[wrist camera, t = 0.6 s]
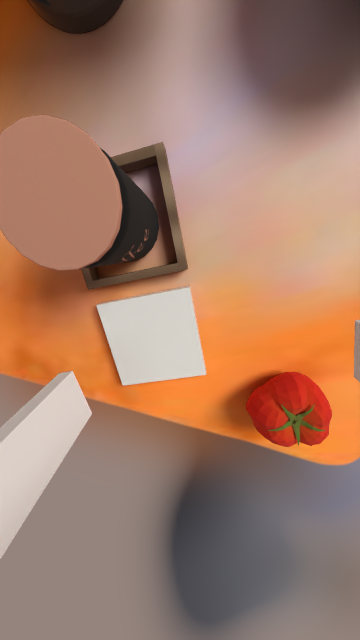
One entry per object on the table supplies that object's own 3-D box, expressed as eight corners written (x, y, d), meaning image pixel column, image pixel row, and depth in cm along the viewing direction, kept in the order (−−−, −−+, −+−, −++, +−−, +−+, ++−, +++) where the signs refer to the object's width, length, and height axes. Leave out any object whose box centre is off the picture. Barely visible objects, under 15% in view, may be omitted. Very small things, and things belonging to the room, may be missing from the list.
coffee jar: (107, 268, 36) (23, 284, 19) (83, 198, 33) (-43, 142, 16) (168, 252, 34) (137, 253, 17) (149, 177, 31) (89, 88, 14)
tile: (101, 302, 38) (96, 305, 36) (189, 285, 35) (189, 287, 33) (126, 379, 42) (122, 385, 40) (205, 368, 40) (206, 374, 38)
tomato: (329, 370, 38) (366, 403, 30) (304, 424, 42) (330, 467, 34) (253, 355, 38) (268, 384, 30) (235, 410, 42) (244, 449, 34)
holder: (61, 180, 32) (50, 175, 30) (165, 150, 30) (162, 142, 27) (95, 287, 37) (88, 289, 34) (187, 268, 34) (187, 269, 32)
